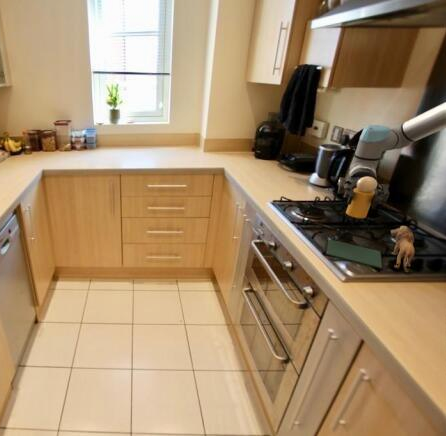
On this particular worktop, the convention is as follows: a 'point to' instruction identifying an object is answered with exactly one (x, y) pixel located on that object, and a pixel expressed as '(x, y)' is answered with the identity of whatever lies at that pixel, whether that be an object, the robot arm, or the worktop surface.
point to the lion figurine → (403, 246)
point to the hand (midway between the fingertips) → (362, 202)
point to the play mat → (354, 253)
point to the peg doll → (362, 197)
